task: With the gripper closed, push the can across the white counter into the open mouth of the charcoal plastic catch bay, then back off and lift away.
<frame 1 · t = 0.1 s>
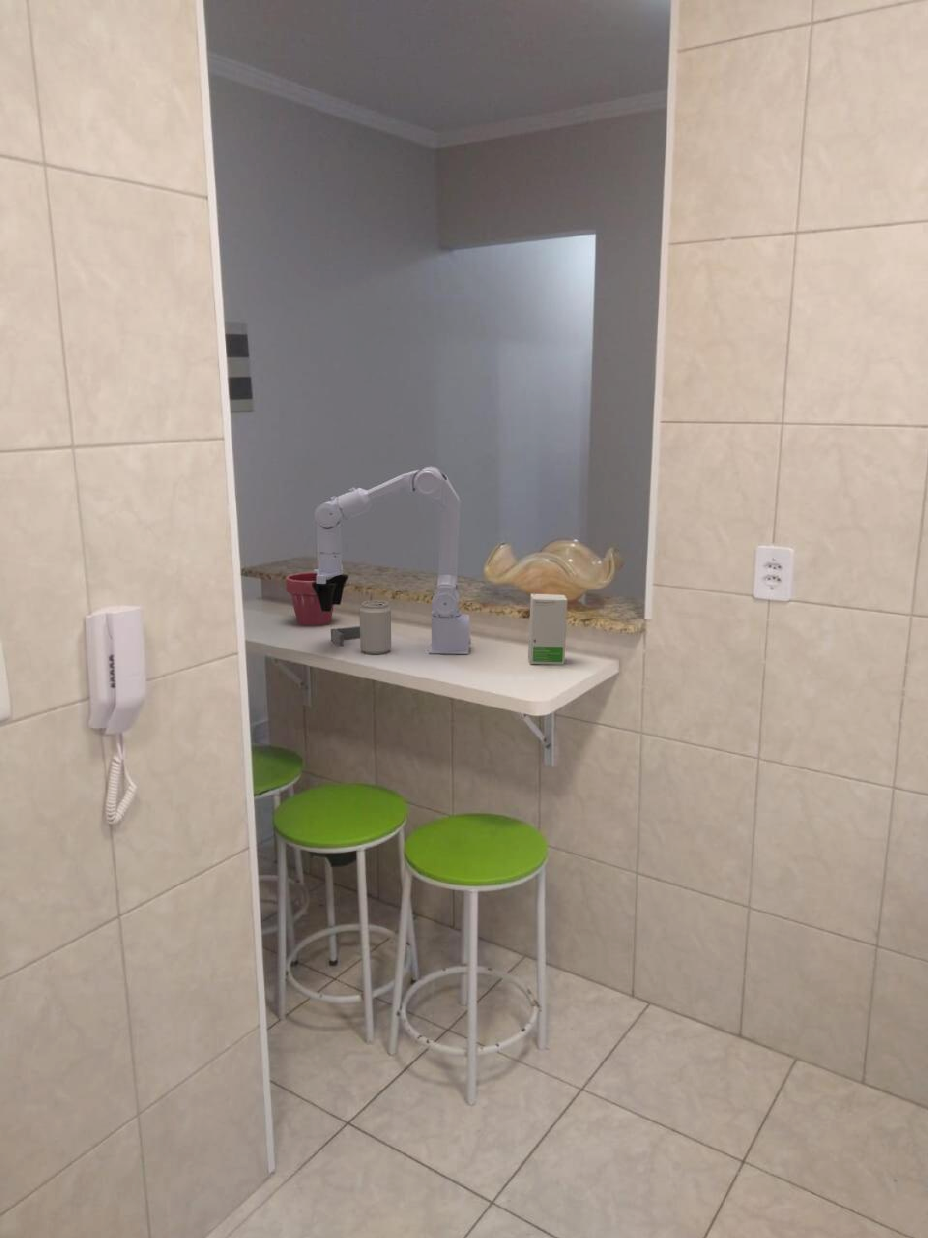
hand: (331, 607, 230), 10 cm above the breakfast bar, tool pointing down, fingers open, 7 cm apart
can: (375, 651, 230), on the breakfast bar
skincare box: (546, 662, 222), on the breakfast bar
plant pot: (313, 622, 258), on the breakfast bar
catch bay: (362, 642, 237), on the breakfast bar
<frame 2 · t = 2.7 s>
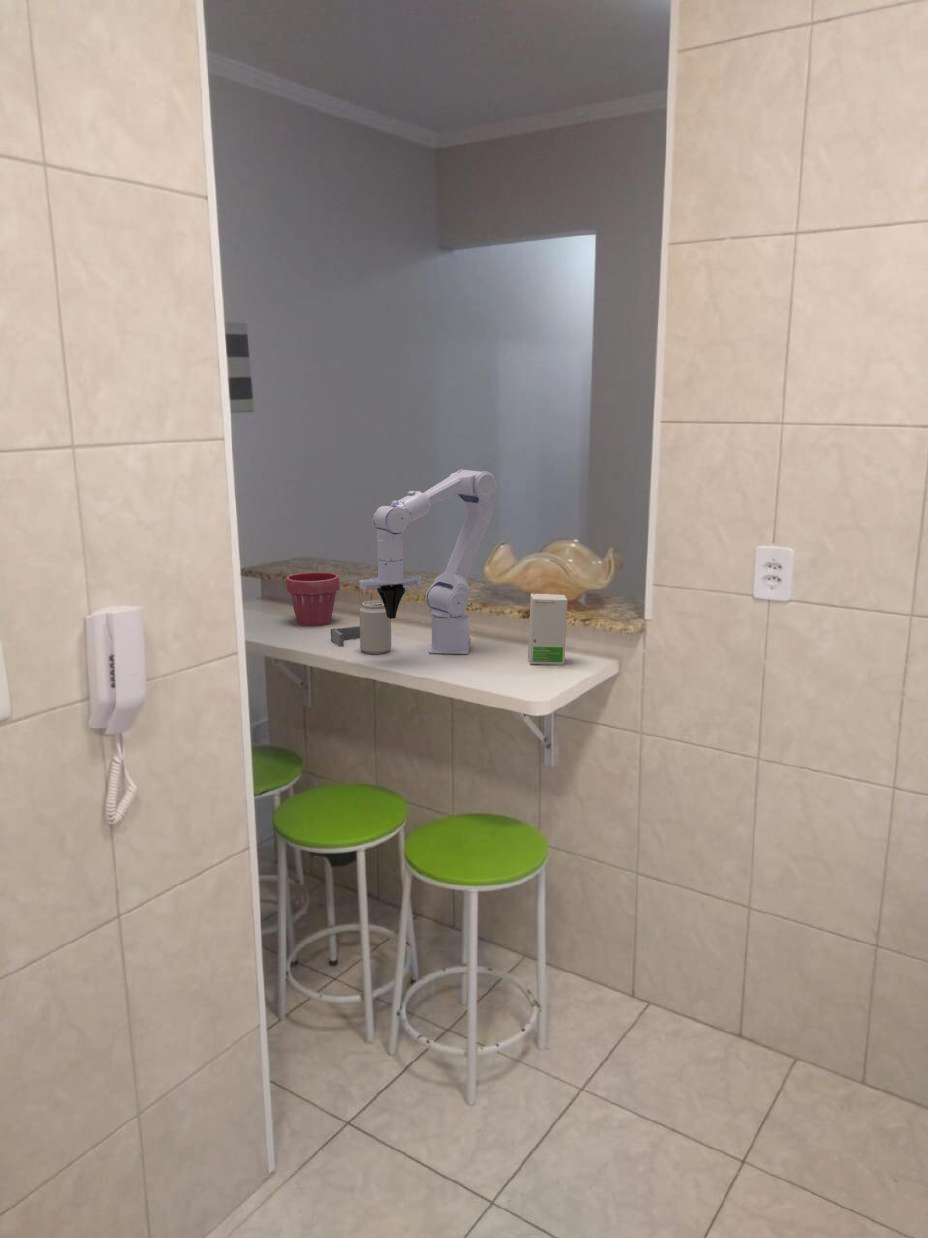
hand: (391, 617, 218), 10 cm above the breakfast bar, tool pointing down, fingers closed
nothing on the breakfast bar moved.
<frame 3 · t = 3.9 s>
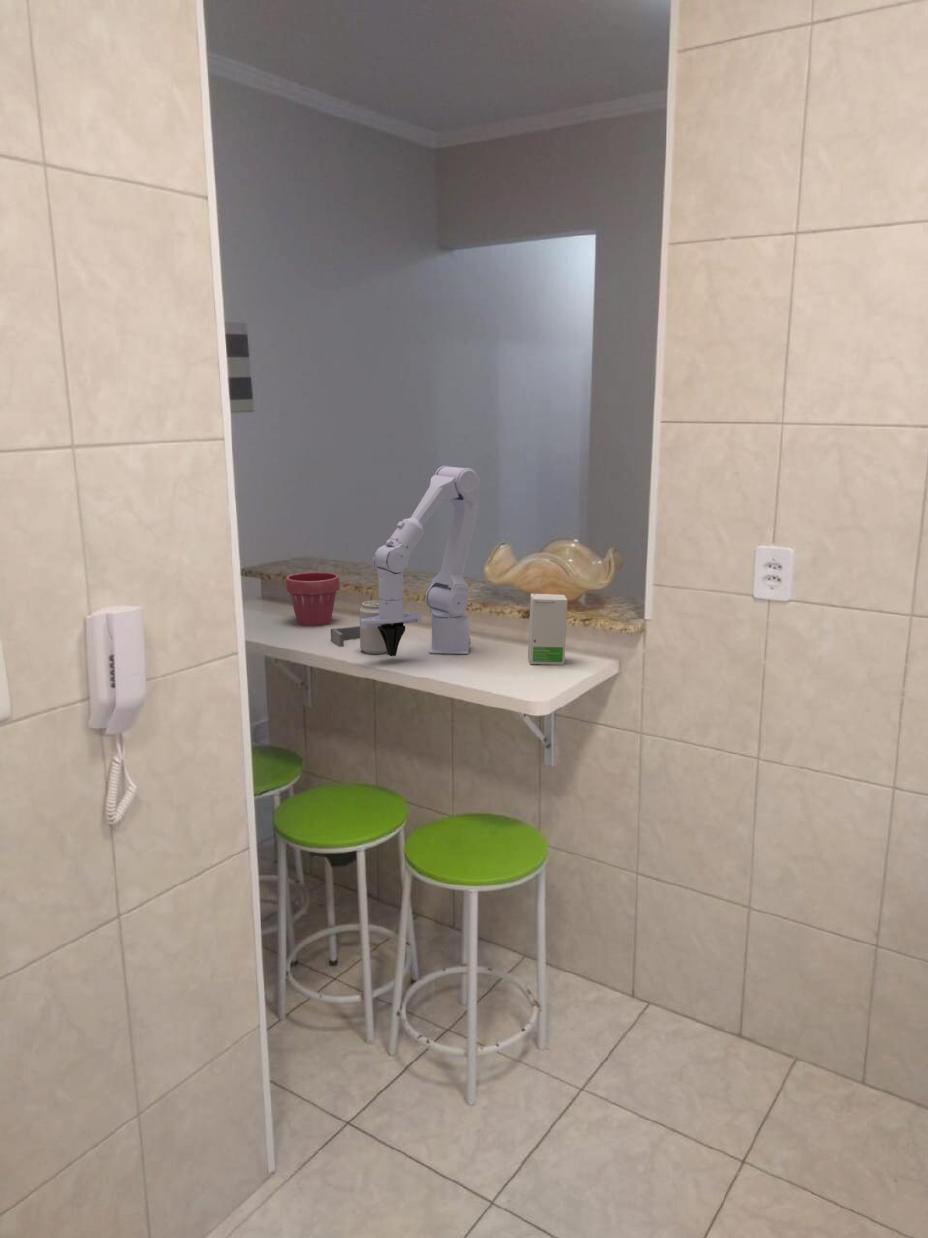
hand: (391, 655, 220), 1 cm above the breakfast bar, tool pointing down, fingers closed
nothing on the breakfast bar moved.
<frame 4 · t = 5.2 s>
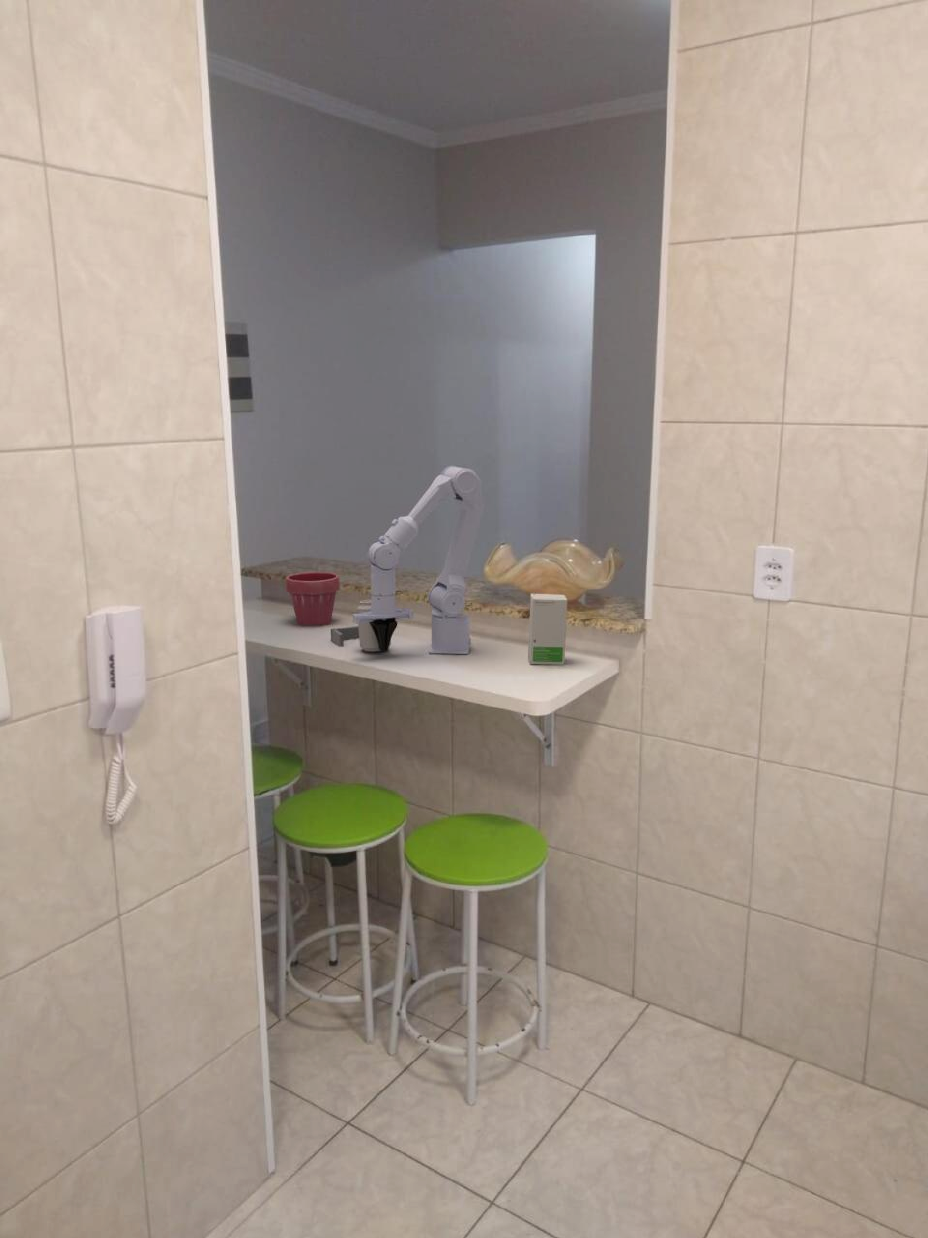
hand: (383, 650, 224), 2 cm above the breakfast bar, tool pointing down, fingers closed, pressing on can
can: (375, 650, 229), on the breakfast bar, touching gripper
everything else where it was.
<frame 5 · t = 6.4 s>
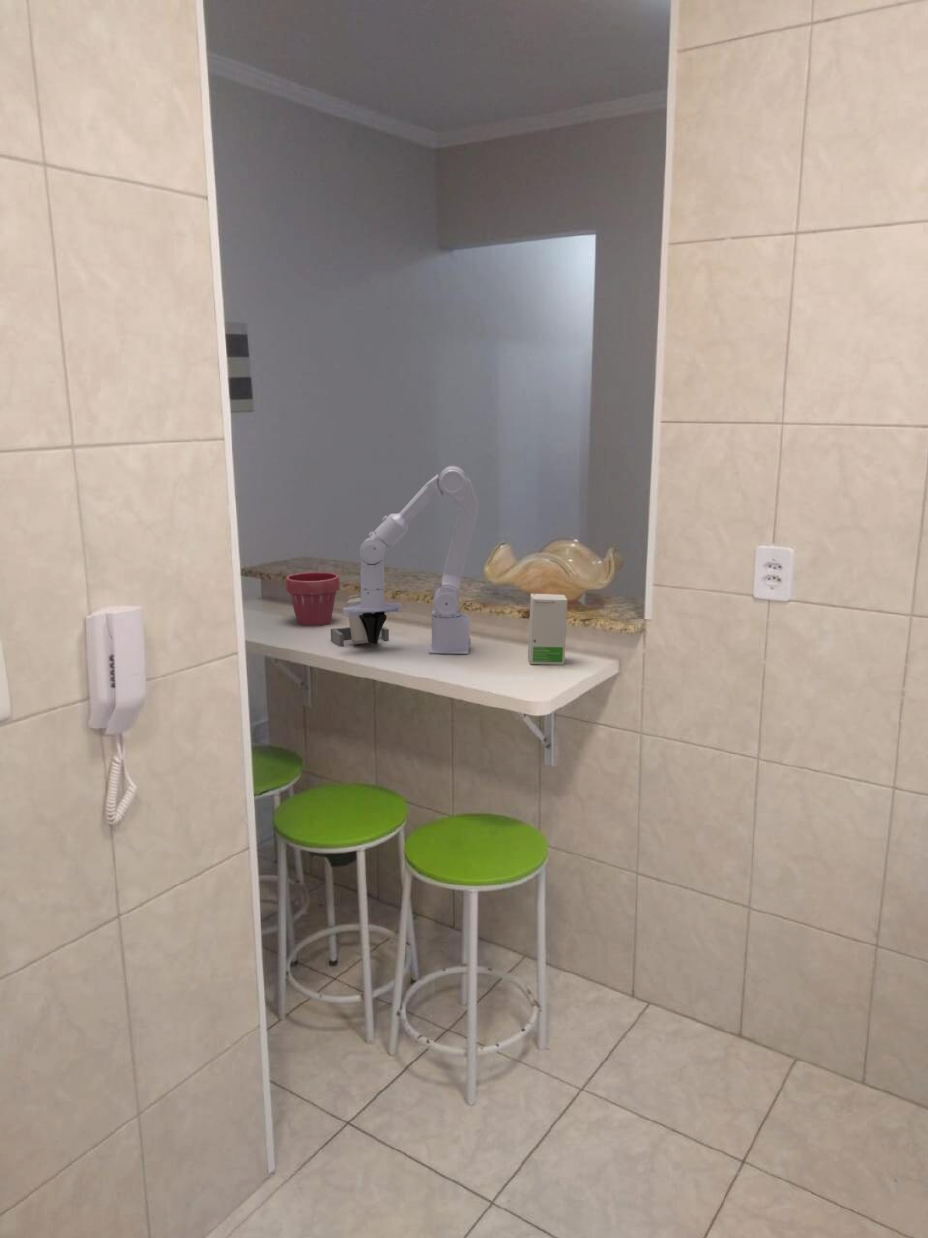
hand: (372, 643, 230), 2 cm above the breakfast bar, tool pointing down, fingers closed, pressing on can
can: (367, 643, 234), point 1 cm above the breakfast bar, touching gripper
everything else where it was.
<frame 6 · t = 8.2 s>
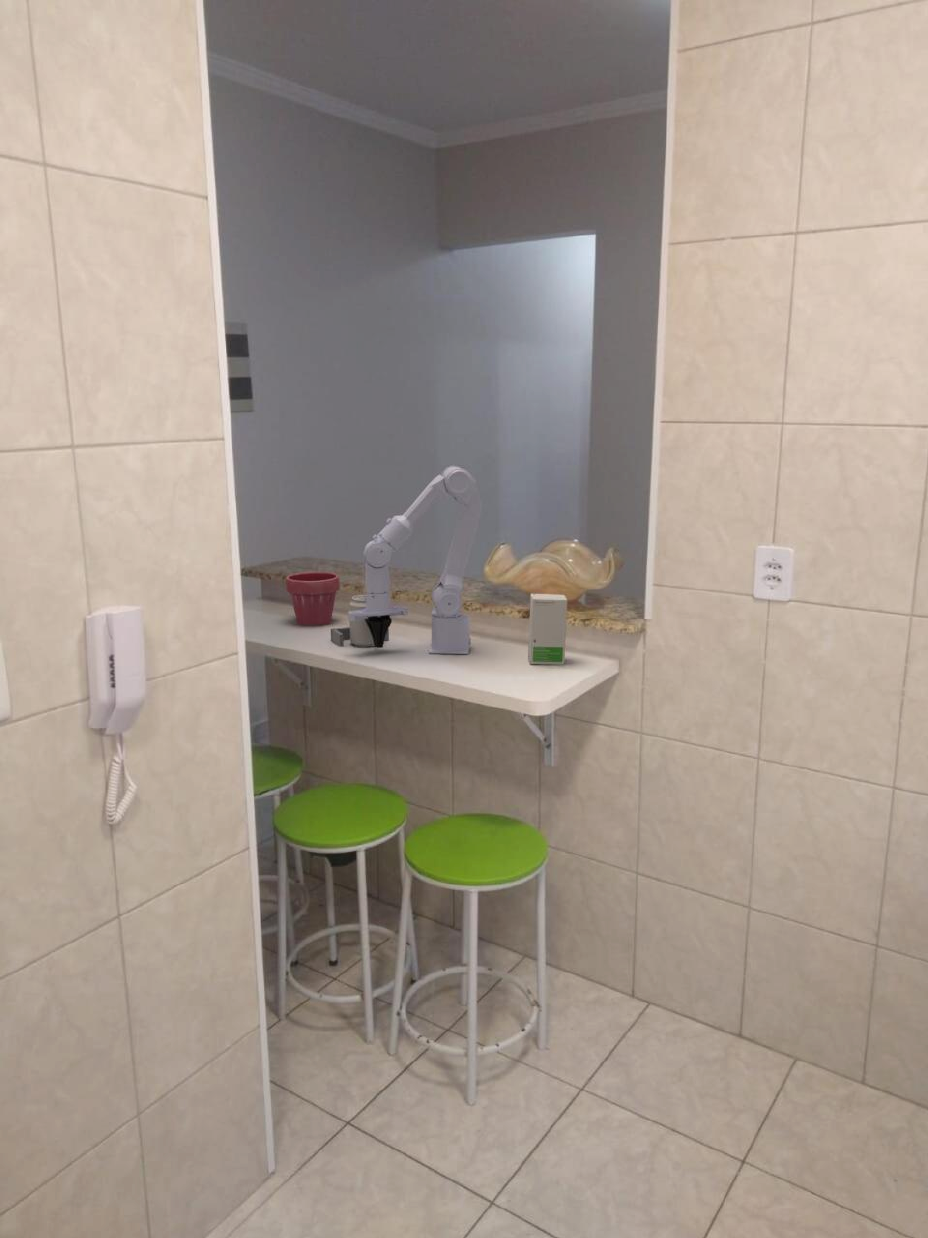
hand: (378, 646, 228), 1 cm above the breakfast bar, tool pointing down, fingers closed
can: (365, 644, 236), on the breakfast bar
everything else where it was.
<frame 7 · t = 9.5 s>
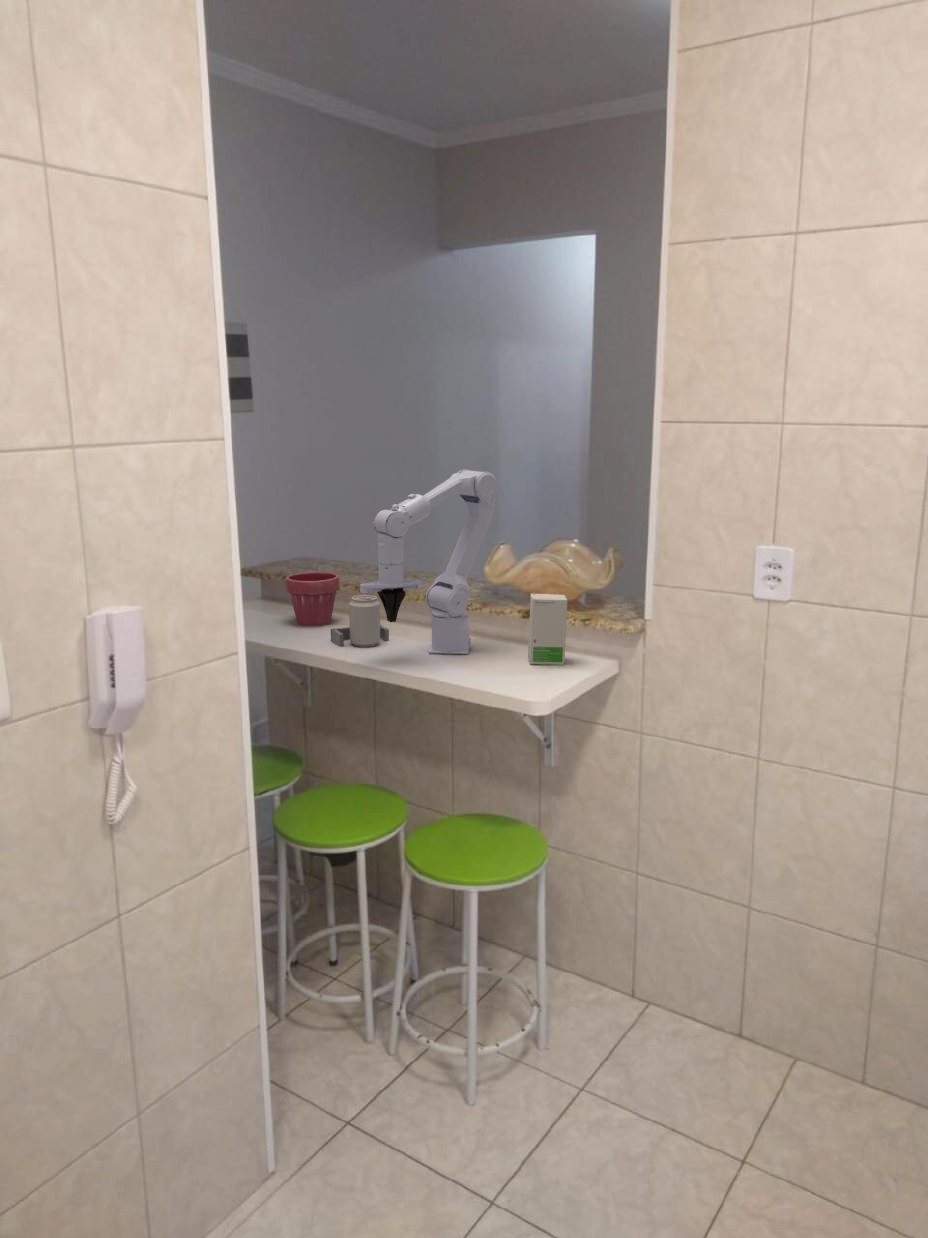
hand: (391, 621, 219), 9 cm above the breakfast bar, tool pointing down, fingers closed
nothing on the breakfast bar moved.
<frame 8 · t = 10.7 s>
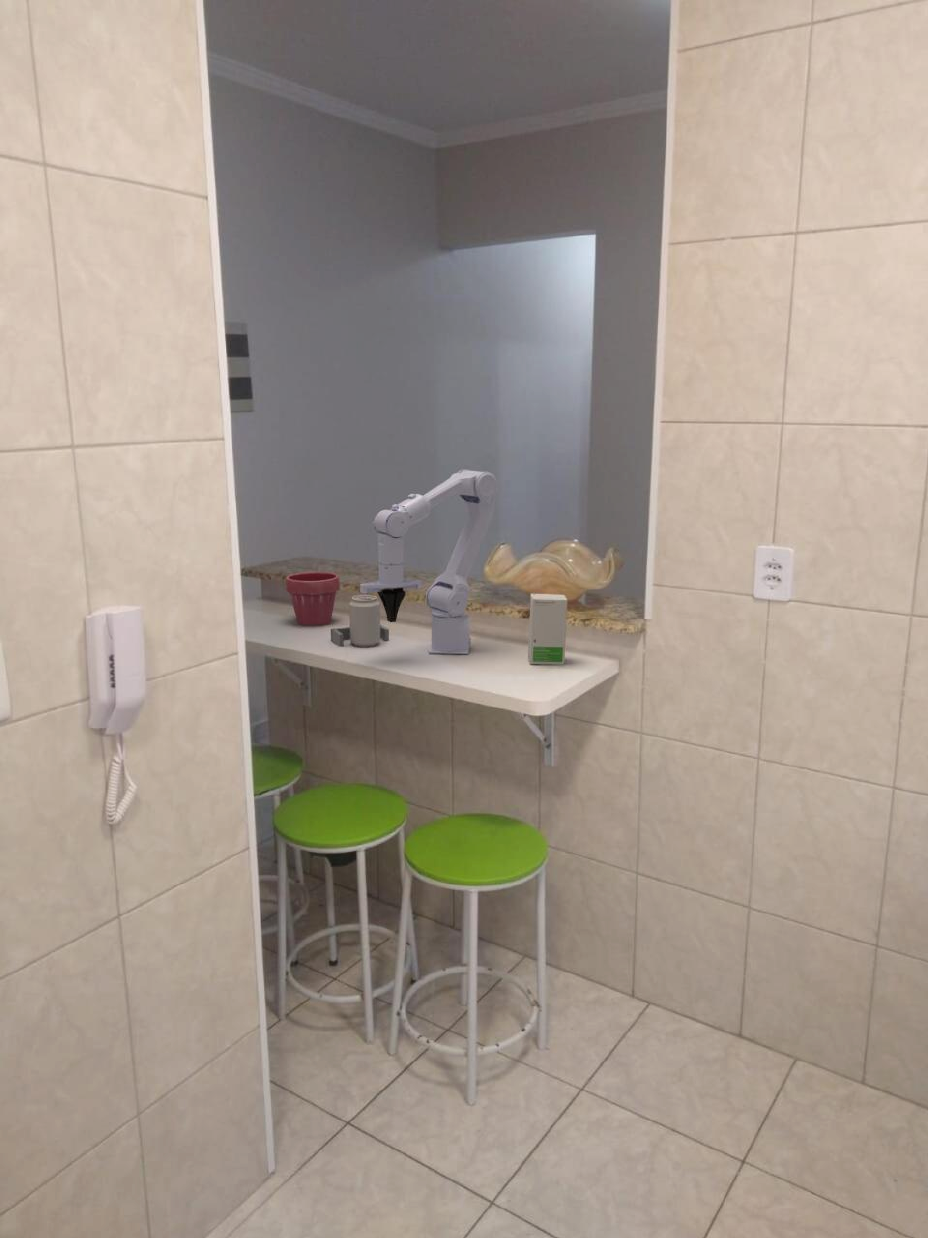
hand: (391, 621, 219), 9 cm above the breakfast bar, tool pointing down, fingers closed
nothing on the breakfast bar moved.
at the end: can 1.8 cm from the catch bay (horizontally); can tilted 0°; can moved 7.2 cm from its start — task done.
